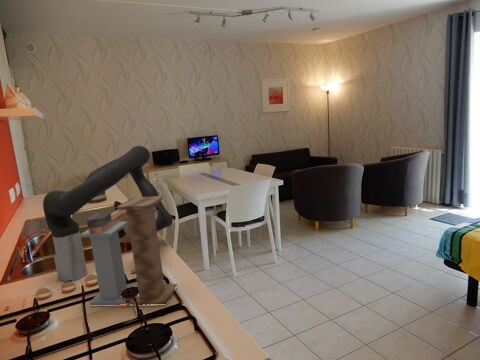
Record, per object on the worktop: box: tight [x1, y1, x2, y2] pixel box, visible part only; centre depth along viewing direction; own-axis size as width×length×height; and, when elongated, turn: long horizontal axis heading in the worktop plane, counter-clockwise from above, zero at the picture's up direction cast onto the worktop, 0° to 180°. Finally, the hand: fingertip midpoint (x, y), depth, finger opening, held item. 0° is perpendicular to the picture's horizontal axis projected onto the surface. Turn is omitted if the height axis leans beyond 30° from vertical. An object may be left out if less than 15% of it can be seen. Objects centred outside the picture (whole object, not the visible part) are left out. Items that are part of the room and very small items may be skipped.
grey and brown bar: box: [86, 210, 127, 234], centre depth 113 cm, size 4×19×4 cm, turn 173°
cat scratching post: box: [117, 195, 178, 305], centre depth 109 cm, size 12×11×32 cm
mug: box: [76, 184, 107, 204], centre depth 253 cm, size 20×14×15 cm
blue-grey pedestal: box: [80, 220, 138, 306], centre depth 112 cm, size 12×11×24 cm
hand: (126, 203), depth 124 cm, fingers open, 8 cm apart
